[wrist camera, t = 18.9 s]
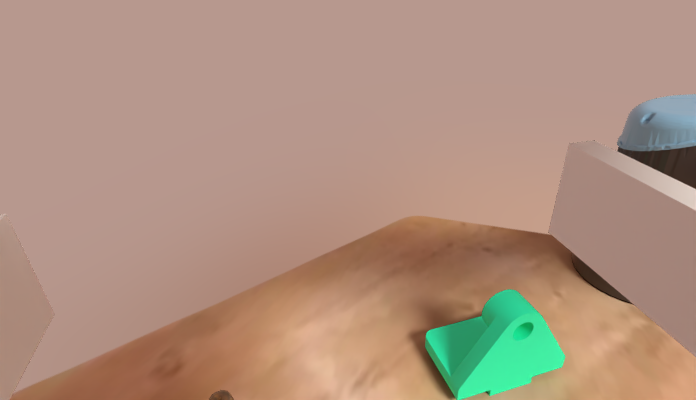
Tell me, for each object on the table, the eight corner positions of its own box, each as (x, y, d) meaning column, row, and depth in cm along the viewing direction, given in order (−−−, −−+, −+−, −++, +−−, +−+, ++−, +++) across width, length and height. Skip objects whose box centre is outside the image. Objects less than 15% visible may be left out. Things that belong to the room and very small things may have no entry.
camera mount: (513, 323, 51) (528, 251, 46) (559, 374, 44) (583, 298, 39) (421, 348, 48) (426, 276, 43) (456, 408, 41) (467, 330, 36)
